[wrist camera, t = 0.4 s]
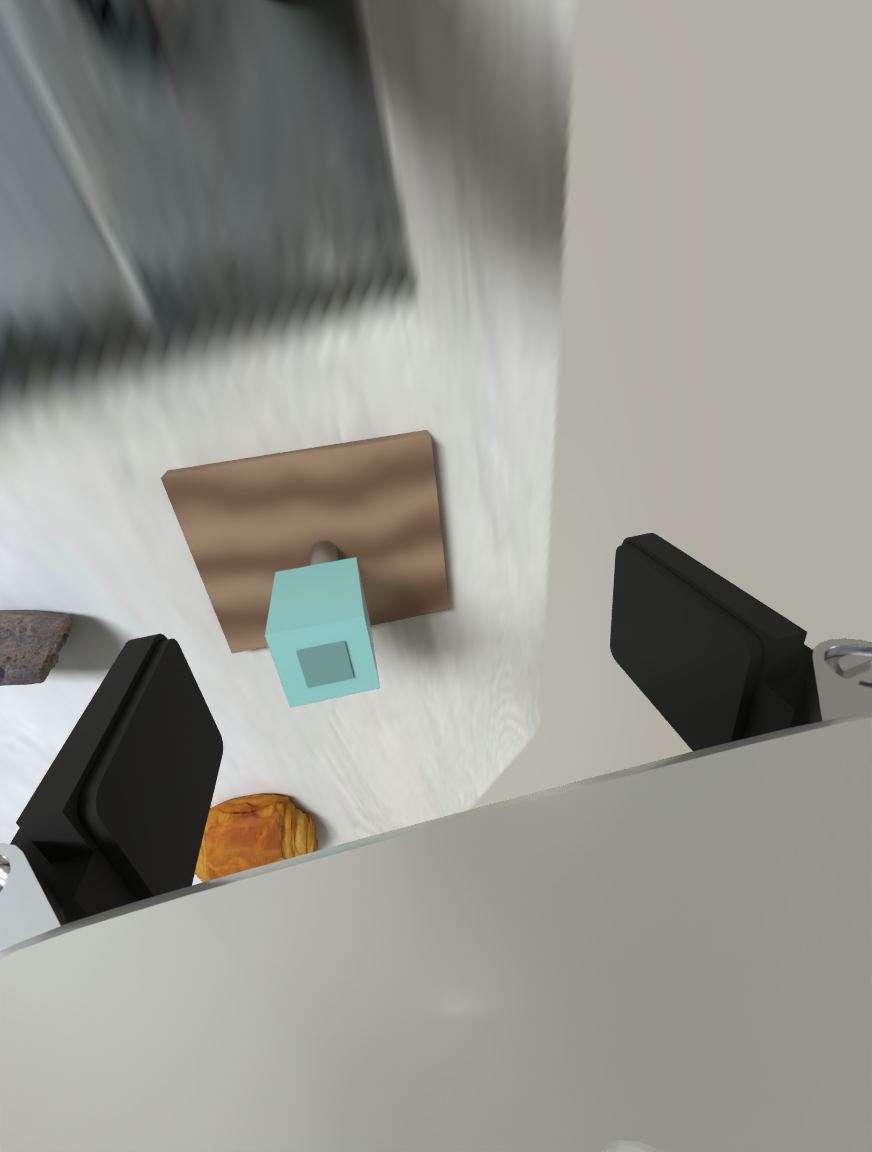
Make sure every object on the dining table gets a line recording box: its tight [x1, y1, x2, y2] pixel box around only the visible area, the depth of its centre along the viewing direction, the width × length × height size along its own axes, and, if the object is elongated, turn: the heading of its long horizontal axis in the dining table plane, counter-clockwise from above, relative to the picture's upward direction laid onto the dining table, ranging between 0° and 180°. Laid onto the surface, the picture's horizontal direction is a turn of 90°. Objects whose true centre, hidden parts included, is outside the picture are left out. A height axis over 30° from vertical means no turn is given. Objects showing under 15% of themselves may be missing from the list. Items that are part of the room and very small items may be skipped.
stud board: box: [161, 430, 450, 653], centre depth 42 cm, size 18×22×11 cm
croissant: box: [195, 794, 318, 882], centre depth 61 cm, size 14×16×8 cm
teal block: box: [265, 557, 380, 708], centre depth 35 cm, size 6×6×8 cm
